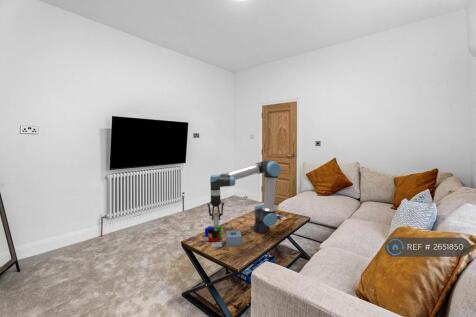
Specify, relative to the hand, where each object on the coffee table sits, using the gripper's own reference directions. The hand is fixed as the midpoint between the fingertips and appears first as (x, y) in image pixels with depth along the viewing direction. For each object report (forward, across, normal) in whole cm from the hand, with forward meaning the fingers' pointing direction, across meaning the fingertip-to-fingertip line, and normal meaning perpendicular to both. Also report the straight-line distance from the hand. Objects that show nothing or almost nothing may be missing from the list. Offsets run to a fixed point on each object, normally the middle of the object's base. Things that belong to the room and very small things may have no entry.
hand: (216, 224), depth 174 cm
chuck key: (+5, 0, 0) cm, 5 cm away
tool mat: (+17, 0, 0) cm, 17 cm away
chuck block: (+17, -12, -3) cm, 21 cm away
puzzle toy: (+17, +3, -10) cm, 20 cm away
